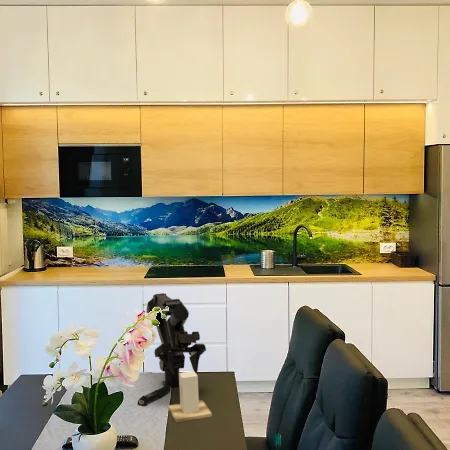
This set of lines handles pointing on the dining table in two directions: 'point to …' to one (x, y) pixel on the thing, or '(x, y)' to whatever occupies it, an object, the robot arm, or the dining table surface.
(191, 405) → the beige rectangular block
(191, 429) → the dining table surface
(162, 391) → the electric trimmer
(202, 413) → the post stand
